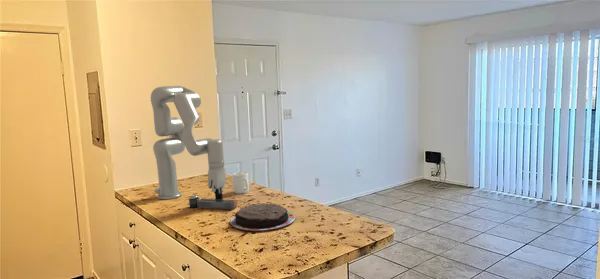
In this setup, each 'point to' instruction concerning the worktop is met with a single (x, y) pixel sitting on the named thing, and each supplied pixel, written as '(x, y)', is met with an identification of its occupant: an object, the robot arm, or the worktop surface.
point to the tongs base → (211, 204)
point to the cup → (241, 182)
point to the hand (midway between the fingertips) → (219, 200)
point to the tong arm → (213, 199)
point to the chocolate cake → (262, 218)
